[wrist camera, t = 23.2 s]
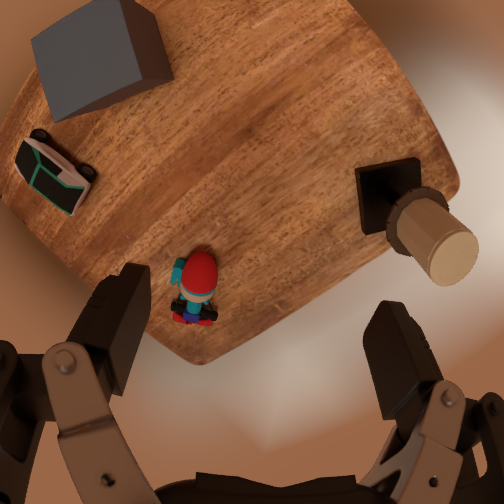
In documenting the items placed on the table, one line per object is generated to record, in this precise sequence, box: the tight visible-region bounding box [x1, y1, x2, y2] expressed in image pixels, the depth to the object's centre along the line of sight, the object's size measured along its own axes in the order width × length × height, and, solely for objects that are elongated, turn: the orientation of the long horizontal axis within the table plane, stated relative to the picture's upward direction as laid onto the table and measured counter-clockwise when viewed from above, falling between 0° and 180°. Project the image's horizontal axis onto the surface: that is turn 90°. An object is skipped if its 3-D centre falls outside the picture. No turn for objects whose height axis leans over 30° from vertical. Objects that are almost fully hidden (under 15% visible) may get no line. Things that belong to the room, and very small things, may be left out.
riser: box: [31, 0, 174, 123], centre depth 23 cm, size 9×9×12 cm
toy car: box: [15, 129, 97, 216], centre depth 32 cm, size 6×12×5 cm, turn 48°
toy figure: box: [170, 252, 218, 326], centre depth 43 cm, size 8×5×15 cm
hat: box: [386, 186, 479, 286], centre depth 28 cm, size 8×8×8 cm
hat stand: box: [355, 157, 421, 235], centre depth 31 cm, size 9×9×16 cm
